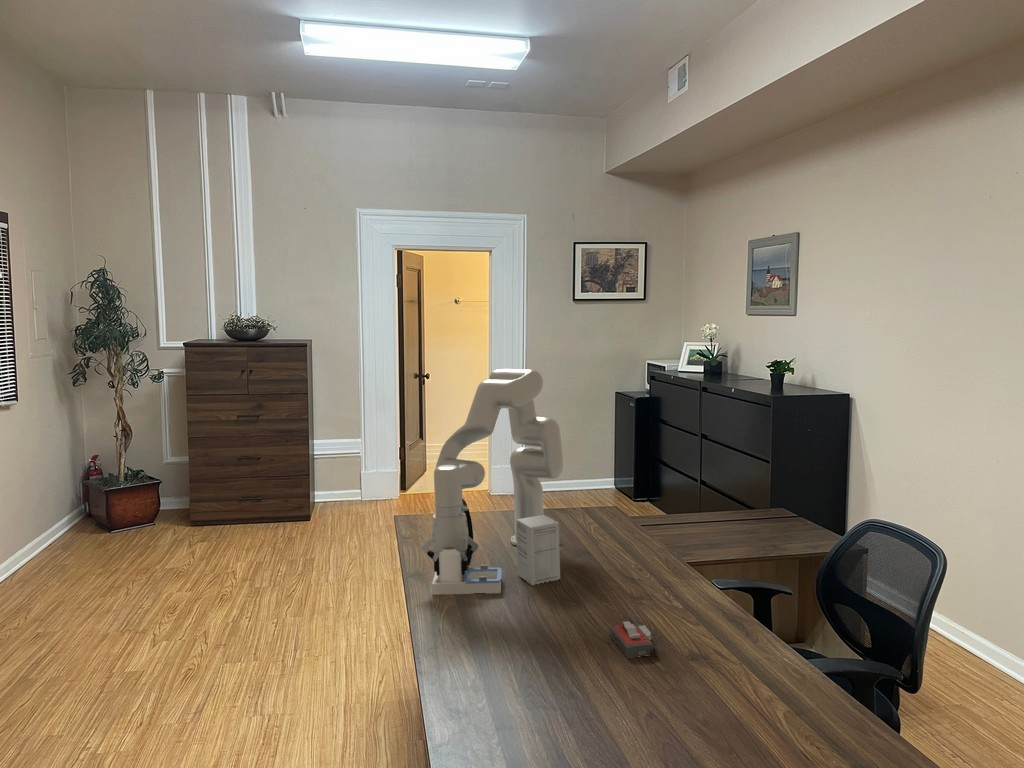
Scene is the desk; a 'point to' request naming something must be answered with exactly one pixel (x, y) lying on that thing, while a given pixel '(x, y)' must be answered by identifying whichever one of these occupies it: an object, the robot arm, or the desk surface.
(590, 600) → the desk surface
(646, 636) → the walkie-talkie
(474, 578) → the block
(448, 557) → the can
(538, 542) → the supplement box
